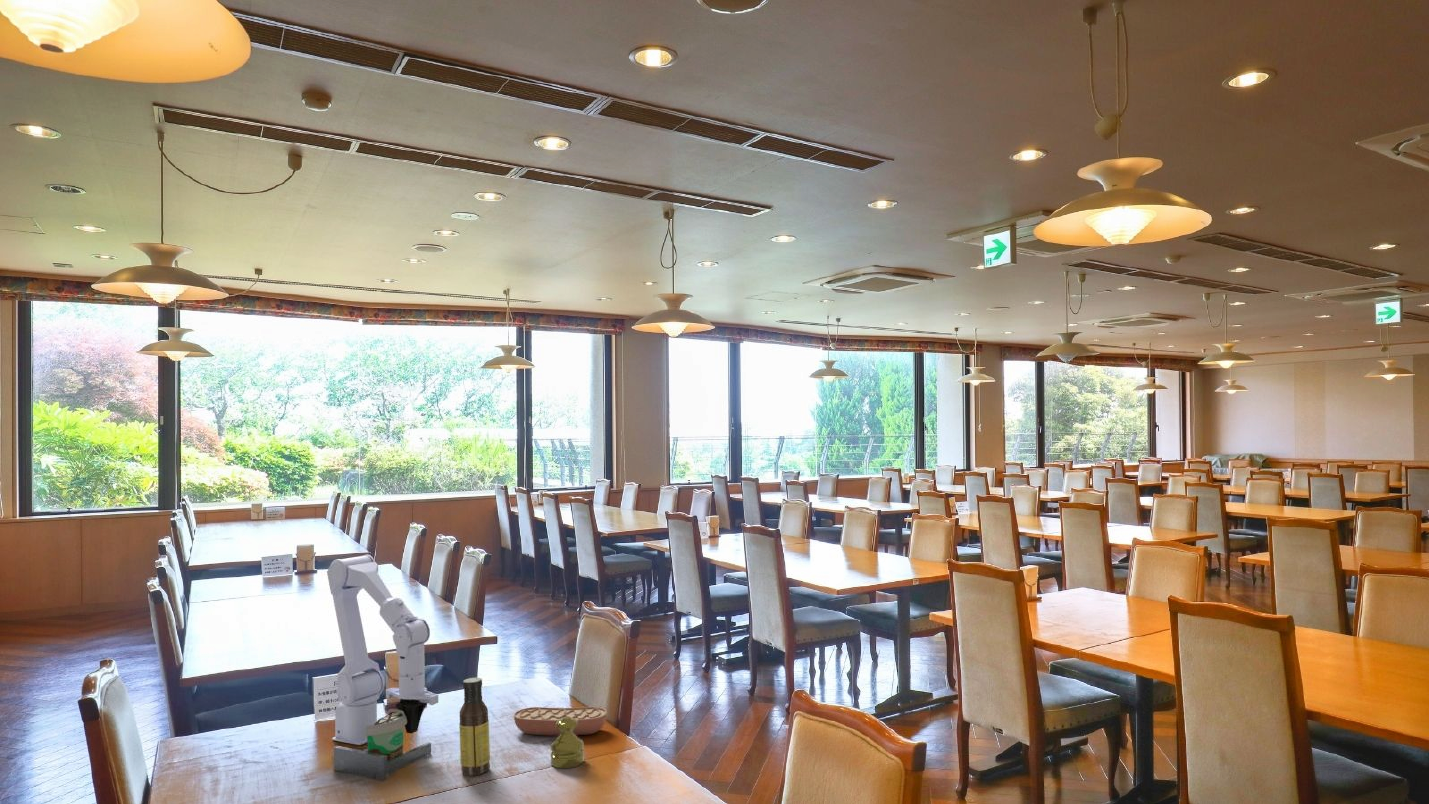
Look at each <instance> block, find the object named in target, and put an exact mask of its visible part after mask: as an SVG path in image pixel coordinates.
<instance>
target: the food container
mask: <svg viewBox="0 0 1429 804" xmlns="http://www.w3.org/2000/svg"><path fill="white" fill-rule="evenodd" d="M406 724H407V719H406V715H405V714H404V712H403V711H401V710H398V709H397V708H389V709H388V713H387V715H385V716H383V717H380V718H378V719H377V722H376V723H375V724H374V725H367V729H366V736H367V741H368V742H367V749H368V752H371V753H376V754H381V755H386V756H387V761H388V760H390V759H392V758H394V757H397V756H399V755H401V754H403V753H404V752H403V750H404V736H405V735H404V733H405V732H404V729H405V725H406Z"/></svg>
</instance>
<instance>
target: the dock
mask: <svg viewBox="0 0 1429 804" xmlns="http://www.w3.org/2000/svg"><path fill="white" fill-rule="evenodd" d="M429 754H430V755H431V754H432V743H431V742H429V741H427V742H426V743H423V744H422V745H418V746H416V747H414V748H412V749H410V750H408V751H405V752H403V754H401V755H399V756H397V757H394V758H392V759H390V760H388V761H387V756H386V755H381V754H376V753H371V752H368V748H366V749H363V750H360V749H356V748H352V747H351V748H349V747H345V746H341V745H340V746H339V745H336V746H333V771H335V772H340V773H345V774H350V775H353V776H358V777H363V778H367V779H368V778H369V779H373V780H377V781H382V782H385V781H387V780H388V775H390V774H391V773H393V772H396V771H398V770H400V769H402V768H404V767H406V766H408V765H411V764H412V763H414V762H417V761H419V760H422V759H423V758H425V757H428V756H430V755H429ZM427 755H428V756H427Z"/></svg>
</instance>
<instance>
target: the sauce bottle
mask: <svg viewBox="0 0 1429 804" xmlns="http://www.w3.org/2000/svg"><path fill="white" fill-rule="evenodd" d="M462 687H463V691H464V693H463V696H464V698H463V700H464V701H463V703H462V704H463V705H462V706H461V707H460V710H459V725H458V726H459V747H460V748H459V749H460V751H459V752H460V753H459V754H460V764H461V773H462V774H463V775H464V776H467V777H472V776H479V775H483V774H485V773H486V772H488V771H489V769H490V768H491V767H490V766H491V764H490V760H491V751H490V746H491V745H490V721H489V709H488V706H487V705H486V704H485V702H484V700H483V694H482V688H483V678H481V677H470V678H466V679H464V680H463V681H462Z"/></svg>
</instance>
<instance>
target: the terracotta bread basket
mask: <svg viewBox="0 0 1429 804" xmlns="http://www.w3.org/2000/svg"><path fill="white" fill-rule="evenodd" d="M607 713H608V712H607V710H606V709H604V708H602V707H598V706H597V707H595V706H588V707H587V706H586V707H584V706H583V707H540V706H533V707H527V708H522V709H519V710H517V711H515V712H514V715H513V720H514V723H515V725H516V727H517V729H518V730H519V731H521V732H522V733H524V734H527V735H535V736H557V737H558V736H559V735H560V734H561V730H560V729H559V728H558V727H556V722H557V721H558V720H560V719H562V718H563V717H567V716H568V717H571V718H574V719H576V720H577V721H578V725H577V726H576V727H575V728H574V729H573V733H574V734H575V735H577V736H584V735H593V734H596V733H597V732H598V731H600V730H601V729H602V728H603V727H604V725H605V723H606V721H607V718H608V717H607V716H608V714H607Z"/></svg>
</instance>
